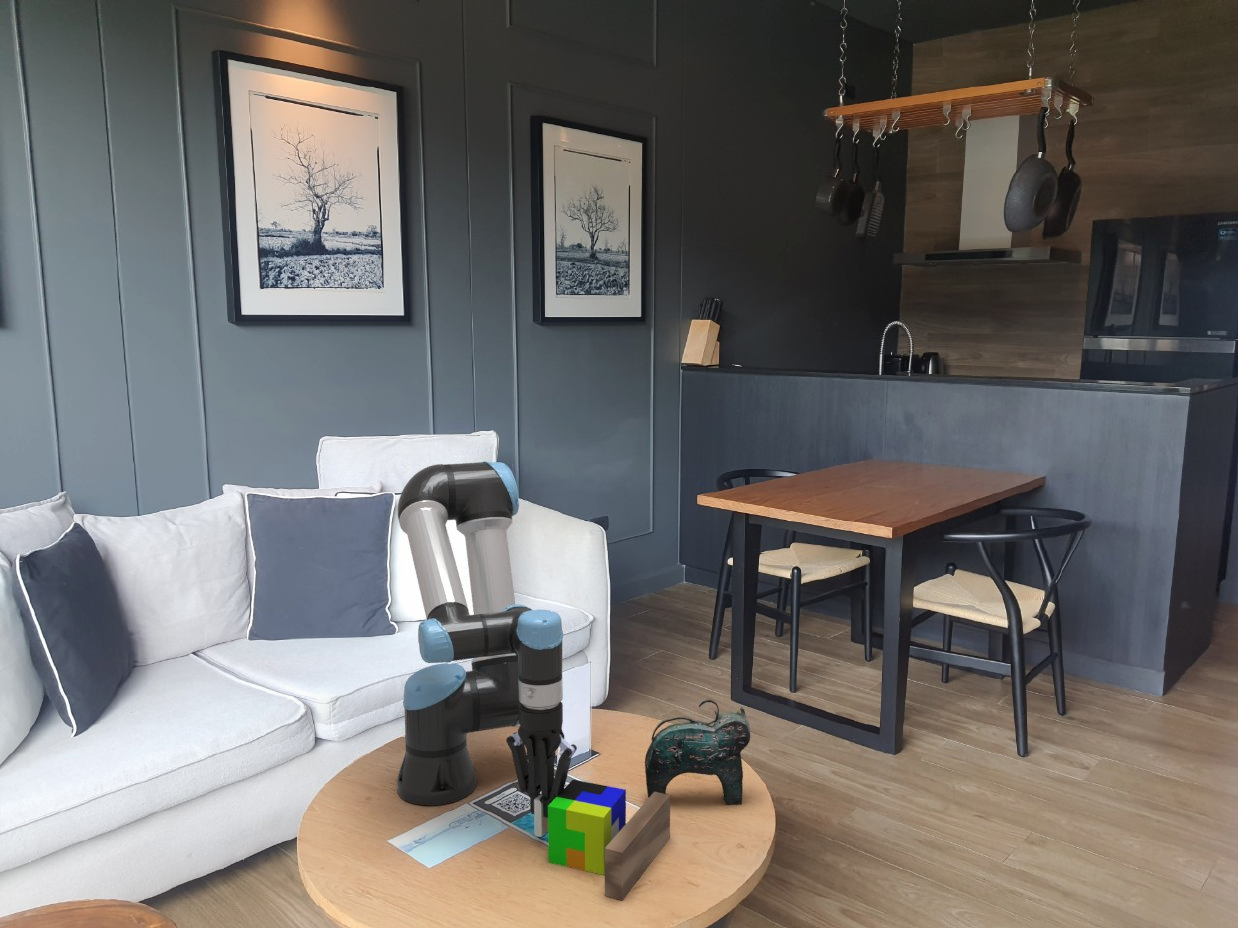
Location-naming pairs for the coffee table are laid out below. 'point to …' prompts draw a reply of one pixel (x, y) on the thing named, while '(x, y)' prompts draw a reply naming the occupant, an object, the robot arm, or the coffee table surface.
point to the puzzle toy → (584, 824)
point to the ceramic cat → (700, 752)
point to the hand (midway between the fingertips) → (541, 832)
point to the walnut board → (636, 845)
